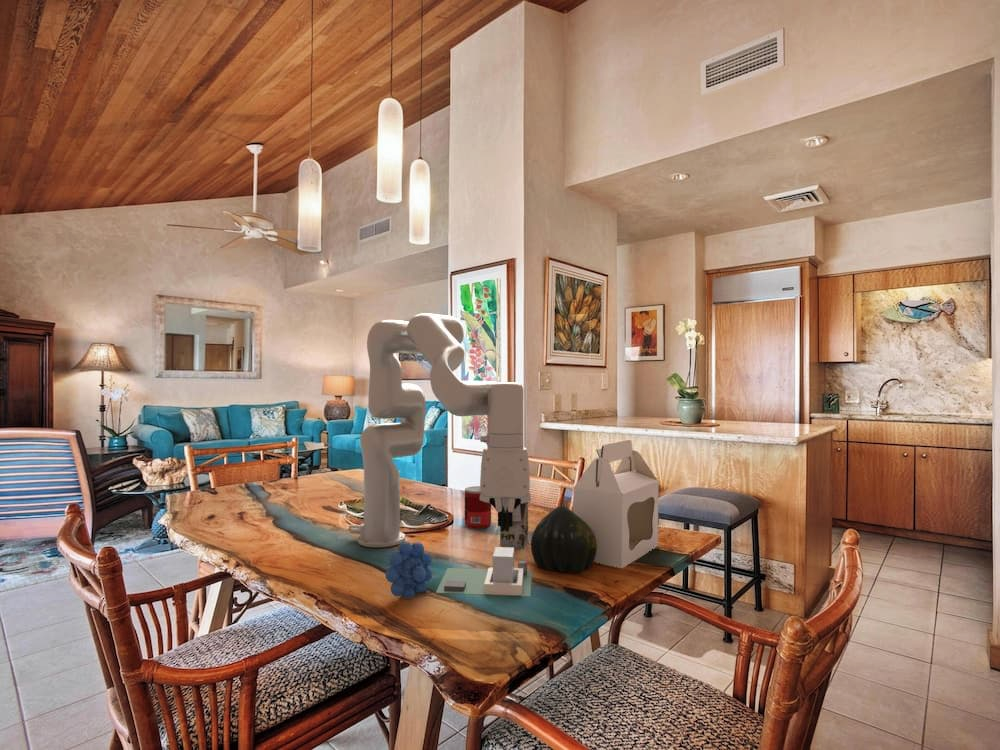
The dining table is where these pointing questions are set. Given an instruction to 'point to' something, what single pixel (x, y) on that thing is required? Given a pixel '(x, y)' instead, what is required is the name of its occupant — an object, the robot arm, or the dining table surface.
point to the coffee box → (516, 527)
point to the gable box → (619, 505)
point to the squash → (563, 542)
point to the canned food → (476, 509)
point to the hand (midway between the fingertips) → (505, 529)
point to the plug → (503, 565)
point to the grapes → (409, 570)
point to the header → (504, 584)
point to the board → (477, 581)
